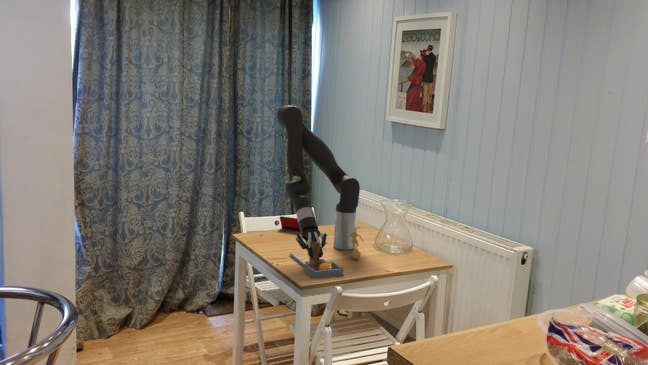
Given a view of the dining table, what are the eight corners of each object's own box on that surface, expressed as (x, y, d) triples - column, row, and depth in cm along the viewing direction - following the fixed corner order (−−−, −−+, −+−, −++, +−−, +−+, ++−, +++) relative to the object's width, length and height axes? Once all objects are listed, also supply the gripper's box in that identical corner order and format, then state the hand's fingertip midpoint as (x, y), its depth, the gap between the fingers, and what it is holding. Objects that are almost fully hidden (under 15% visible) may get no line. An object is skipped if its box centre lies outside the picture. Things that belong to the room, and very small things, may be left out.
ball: (330, 276, 224) (326, 268, 228) (332, 267, 222) (328, 260, 225) (320, 277, 223) (316, 269, 226) (322, 268, 220) (318, 261, 224)
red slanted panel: (309, 229, 293) (310, 215, 291) (301, 233, 283) (302, 219, 281) (287, 225, 297) (287, 211, 296) (278, 230, 287) (279, 215, 286)
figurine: (350, 261, 241) (352, 234, 239) (342, 257, 247) (344, 231, 244) (366, 259, 246) (368, 233, 244) (358, 255, 251) (360, 229, 249)
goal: (333, 268, 232) (334, 261, 231) (342, 275, 224) (343, 268, 223) (304, 271, 226) (304, 263, 226) (312, 278, 219) (312, 270, 218)
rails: (310, 254, 249) (310, 250, 249) (329, 268, 231) (329, 264, 231) (289, 255, 245) (289, 252, 245) (307, 270, 227) (307, 266, 227)
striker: (318, 262, 237) (319, 240, 235) (325, 268, 230) (327, 245, 228) (305, 263, 234) (306, 241, 233) (312, 269, 228) (313, 246, 226)
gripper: (293, 216, 234) (303, 253, 225) (325, 215, 240) (335, 251, 231) (288, 226, 240) (297, 262, 231) (319, 224, 245) (329, 260, 237)
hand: (316, 256), depth 231 cm, fingers closed on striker, 3 cm apart
